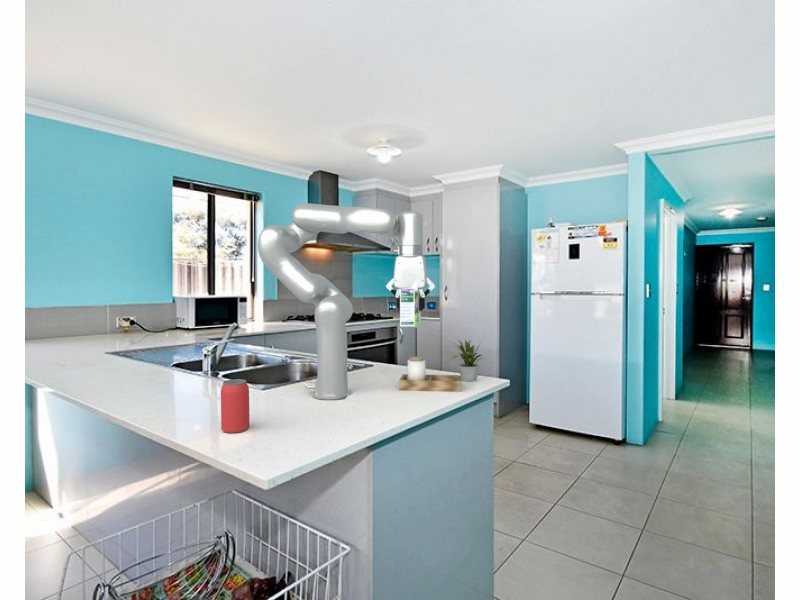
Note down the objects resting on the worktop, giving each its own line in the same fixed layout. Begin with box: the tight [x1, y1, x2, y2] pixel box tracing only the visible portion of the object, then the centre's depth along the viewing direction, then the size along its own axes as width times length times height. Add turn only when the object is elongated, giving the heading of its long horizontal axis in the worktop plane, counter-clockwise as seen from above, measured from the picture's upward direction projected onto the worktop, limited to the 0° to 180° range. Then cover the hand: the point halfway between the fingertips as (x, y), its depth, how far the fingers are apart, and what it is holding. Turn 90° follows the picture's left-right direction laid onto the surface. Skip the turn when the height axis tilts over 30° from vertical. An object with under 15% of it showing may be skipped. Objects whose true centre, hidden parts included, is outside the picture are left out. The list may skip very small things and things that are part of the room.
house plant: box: [450, 339, 484, 383], centre depth 169 cm, size 14×14×16 cm
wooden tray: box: [398, 373, 462, 393], centre depth 158 cm, size 20×10×4 cm, turn 82°
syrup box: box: [399, 280, 422, 328], centre depth 146 cm, size 6×6×14 cm
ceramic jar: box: [407, 355, 426, 380], centre depth 158 cm, size 6×6×10 cm
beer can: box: [220, 378, 251, 434], centre depth 116 cm, size 7×7×12 cm
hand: (410, 309), depth 146 cm, fingers closed on syrup box, 5 cm apart
